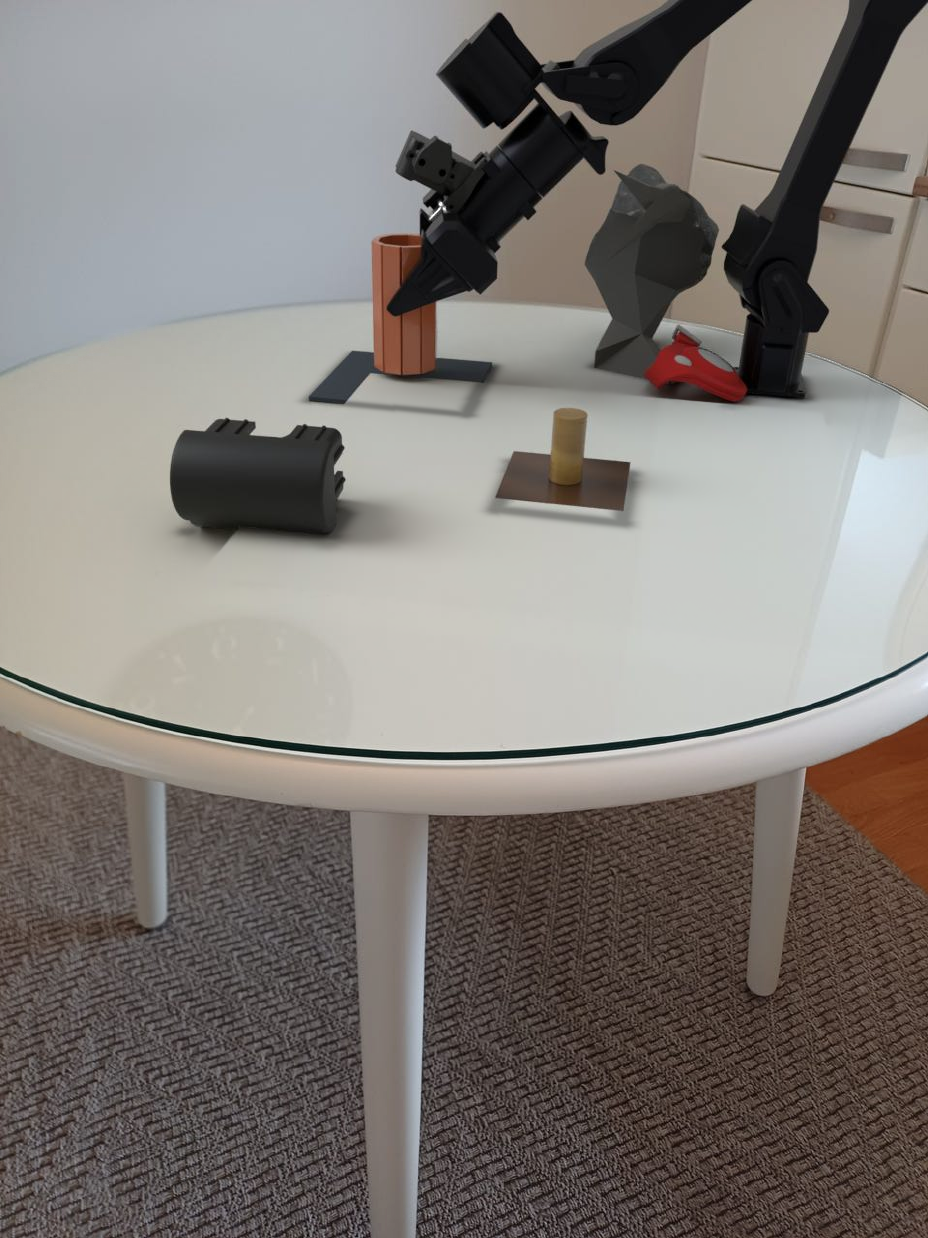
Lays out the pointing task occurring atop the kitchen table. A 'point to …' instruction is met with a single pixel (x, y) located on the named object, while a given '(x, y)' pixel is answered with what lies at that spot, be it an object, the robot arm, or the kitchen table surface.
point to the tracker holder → (695, 367)
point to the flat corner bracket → (362, 364)
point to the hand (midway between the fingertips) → (390, 303)
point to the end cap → (257, 477)
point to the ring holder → (566, 470)
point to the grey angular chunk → (646, 264)
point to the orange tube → (409, 335)
